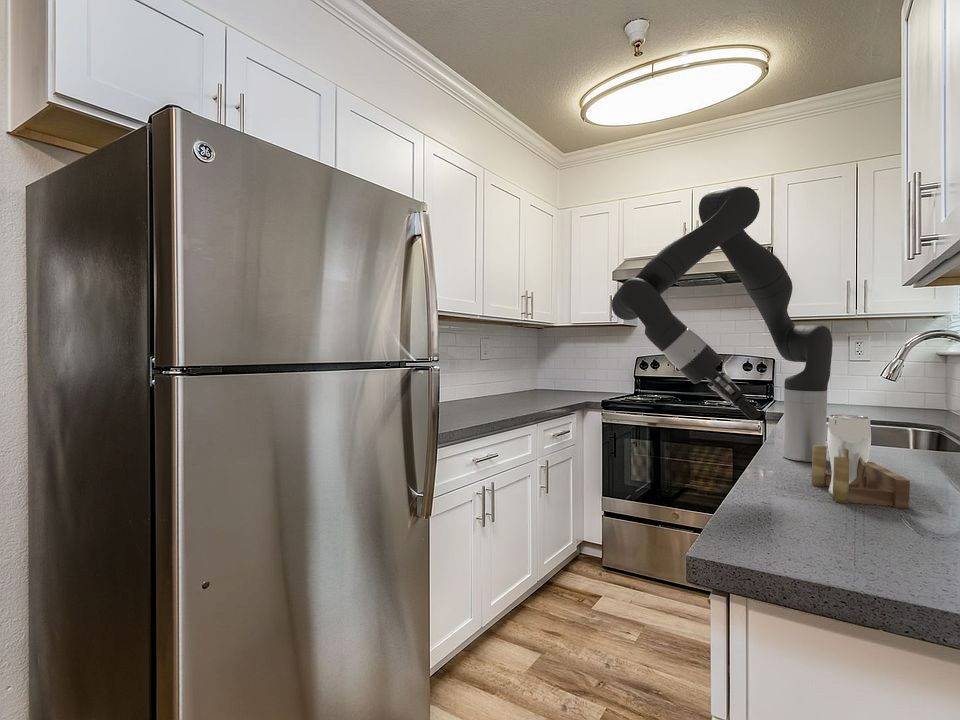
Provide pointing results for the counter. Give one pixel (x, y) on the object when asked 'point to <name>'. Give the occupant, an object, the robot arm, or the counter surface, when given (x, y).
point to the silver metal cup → (849, 445)
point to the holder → (877, 480)
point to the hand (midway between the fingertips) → (756, 417)
